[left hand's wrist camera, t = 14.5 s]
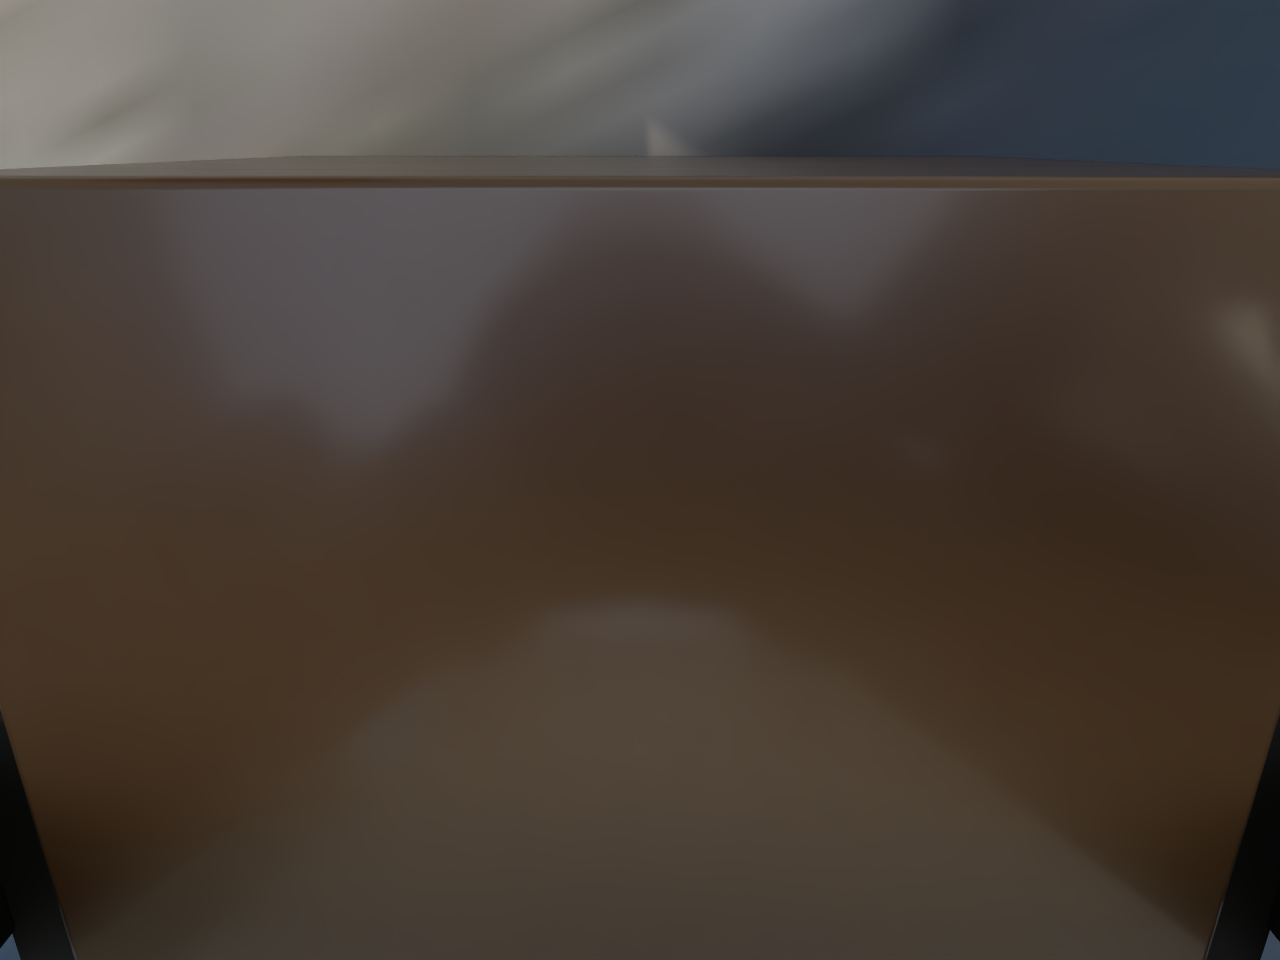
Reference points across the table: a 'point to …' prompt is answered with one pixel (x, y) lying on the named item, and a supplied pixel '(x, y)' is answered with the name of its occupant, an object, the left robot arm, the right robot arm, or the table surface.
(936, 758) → the wide beam
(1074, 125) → the table surface
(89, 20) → the table surface
